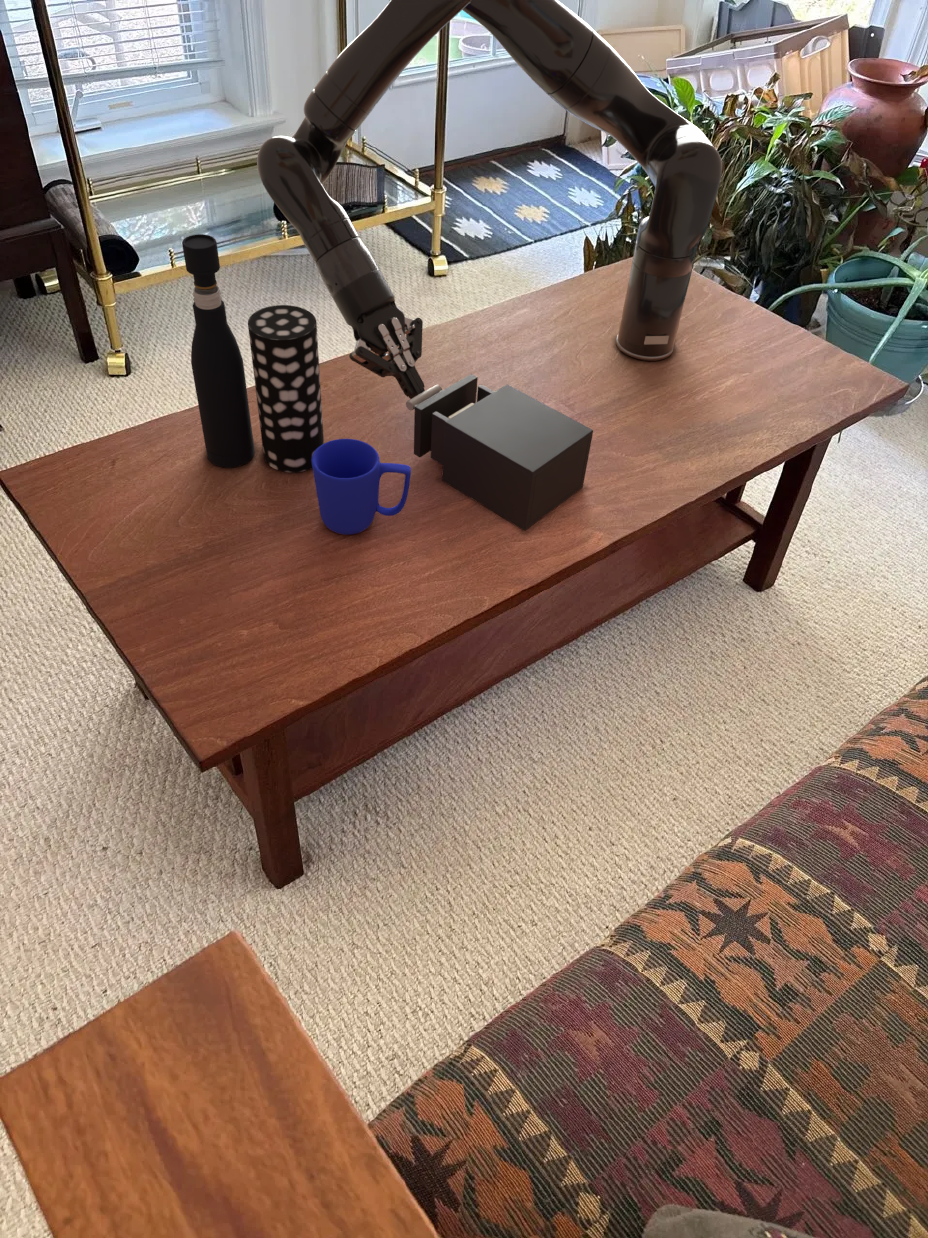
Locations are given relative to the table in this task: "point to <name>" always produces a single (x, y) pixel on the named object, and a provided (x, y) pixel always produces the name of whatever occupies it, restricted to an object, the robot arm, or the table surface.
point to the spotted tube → (287, 385)
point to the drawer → (441, 413)
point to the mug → (352, 484)
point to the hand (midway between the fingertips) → (418, 395)
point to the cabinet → (515, 455)
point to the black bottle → (217, 362)
